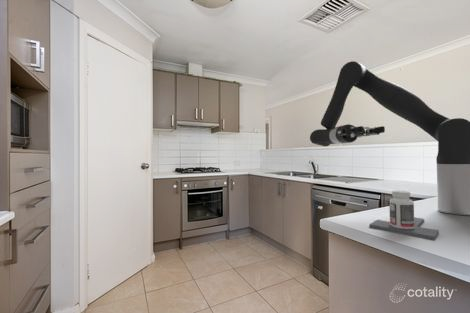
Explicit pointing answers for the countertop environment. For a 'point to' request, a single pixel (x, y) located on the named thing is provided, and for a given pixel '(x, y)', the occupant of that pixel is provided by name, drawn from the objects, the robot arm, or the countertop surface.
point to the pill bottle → (401, 210)
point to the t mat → (414, 232)
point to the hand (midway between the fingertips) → (373, 129)
